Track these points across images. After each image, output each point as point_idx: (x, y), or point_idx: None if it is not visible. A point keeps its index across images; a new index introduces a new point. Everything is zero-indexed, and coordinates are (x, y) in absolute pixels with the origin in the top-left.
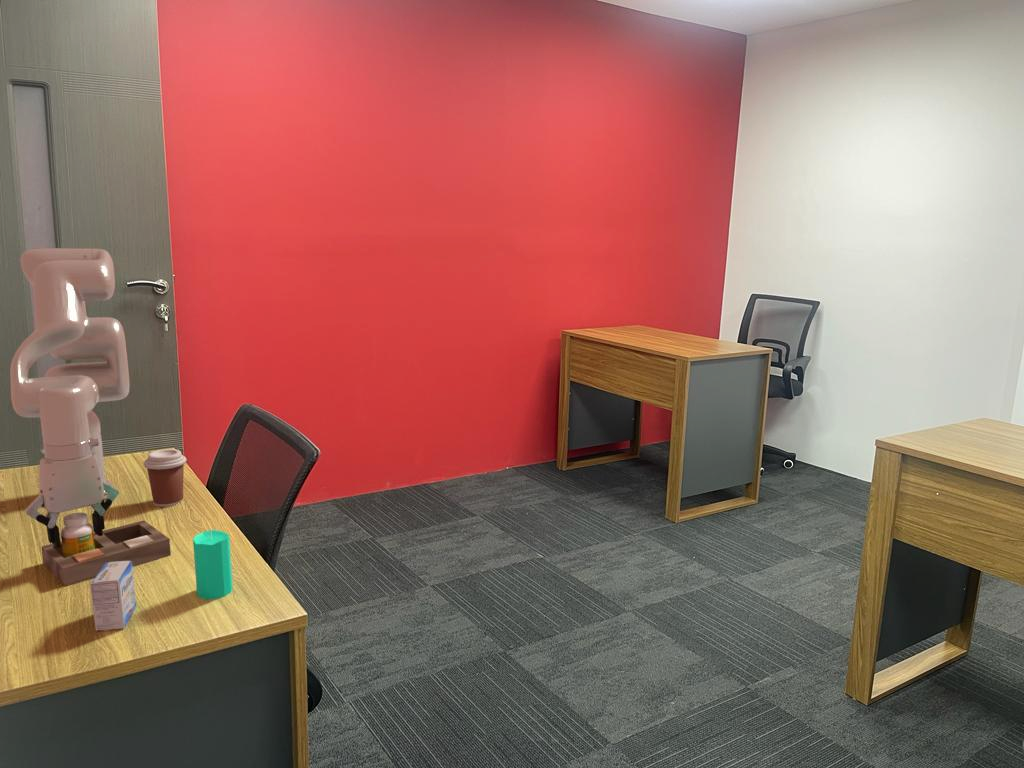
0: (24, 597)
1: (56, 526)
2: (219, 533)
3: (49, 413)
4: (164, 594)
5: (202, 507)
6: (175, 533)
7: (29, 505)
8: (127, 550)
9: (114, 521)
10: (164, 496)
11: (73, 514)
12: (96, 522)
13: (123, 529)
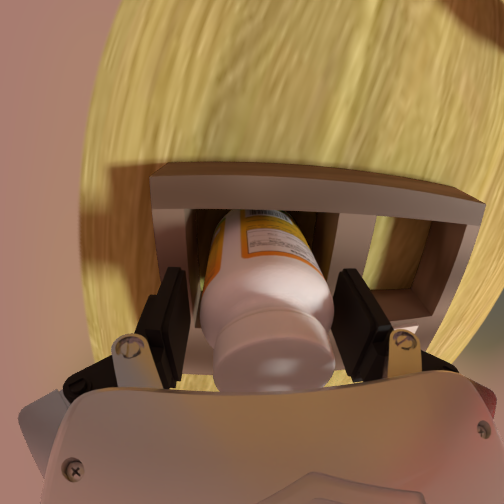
0: (111, 329)
1: (171, 380)
2: None
3: None
4: None
5: None
6: (481, 228)
7: (29, 447)
8: (338, 369)
9: (445, 18)
10: None
11: (280, 356)
12: (345, 350)
13: (431, 218)
